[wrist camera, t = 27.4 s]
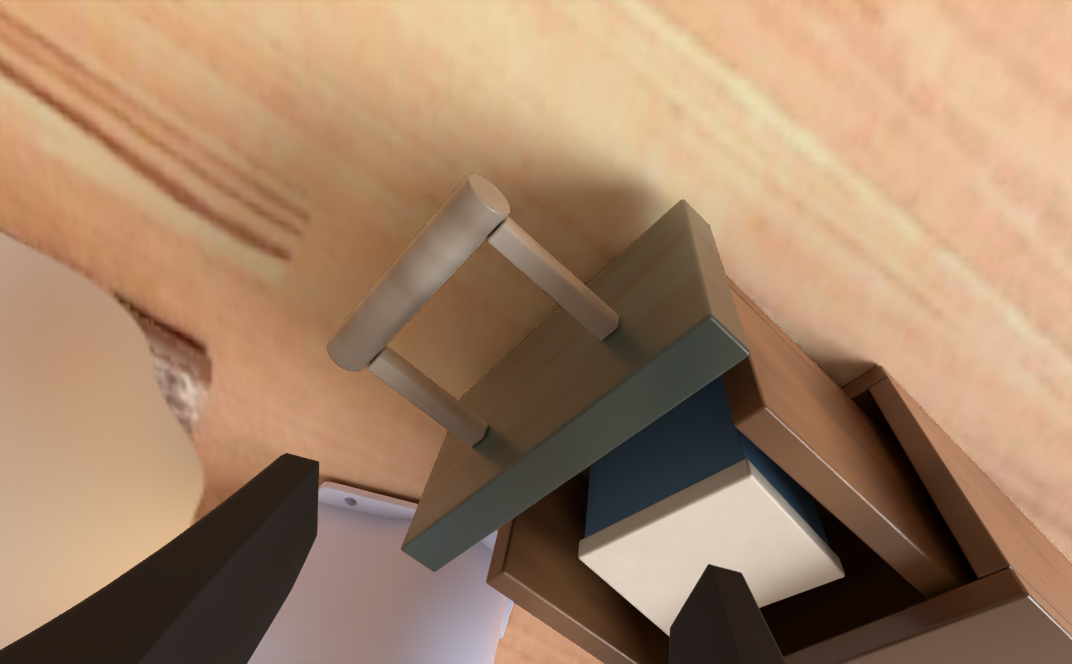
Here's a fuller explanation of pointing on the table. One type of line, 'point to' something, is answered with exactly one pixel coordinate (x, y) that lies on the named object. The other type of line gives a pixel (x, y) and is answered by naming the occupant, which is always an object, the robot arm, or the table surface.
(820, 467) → the drawer
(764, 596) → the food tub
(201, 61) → the table surface
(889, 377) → the cabinet
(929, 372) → the table surface
